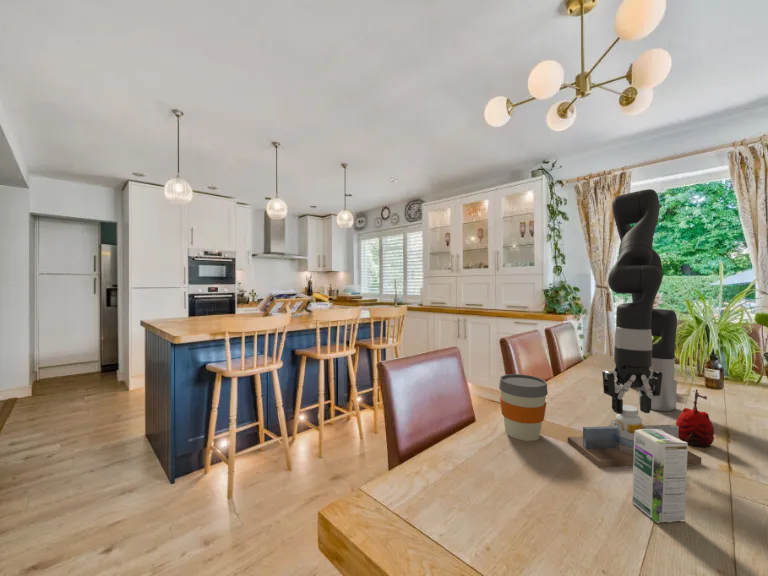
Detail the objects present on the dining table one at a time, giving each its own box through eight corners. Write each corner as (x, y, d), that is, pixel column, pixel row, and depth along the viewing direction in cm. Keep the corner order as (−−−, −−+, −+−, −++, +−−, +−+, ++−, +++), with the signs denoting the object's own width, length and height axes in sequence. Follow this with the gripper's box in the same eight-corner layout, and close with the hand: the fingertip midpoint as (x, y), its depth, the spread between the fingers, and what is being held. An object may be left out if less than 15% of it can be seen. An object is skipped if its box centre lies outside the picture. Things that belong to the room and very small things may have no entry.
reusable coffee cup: (546, 428, 98) (547, 377, 98) (547, 447, 87) (548, 389, 87) (501, 420, 104) (501, 371, 103) (496, 438, 92) (496, 383, 92)
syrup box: (630, 502, 66) (632, 428, 65) (658, 501, 66) (660, 427, 66) (656, 524, 60) (658, 443, 60) (687, 522, 60) (689, 441, 60)
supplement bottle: (614, 446, 85) (611, 408, 85) (620, 438, 89) (618, 401, 88) (640, 453, 81) (637, 413, 81) (646, 444, 84) (643, 406, 84)
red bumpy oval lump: (713, 443, 90) (715, 387, 90) (714, 452, 85) (715, 393, 85) (675, 434, 95) (677, 381, 95) (674, 442, 90) (675, 386, 90)
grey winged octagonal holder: (660, 437, 90) (661, 418, 90) (692, 454, 81) (692, 433, 81) (573, 439, 88) (573, 420, 88) (596, 457, 80) (596, 436, 80)
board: (656, 439, 92) (657, 434, 92) (701, 464, 80) (701, 457, 80) (567, 442, 90) (567, 436, 90) (599, 467, 78) (599, 461, 78)
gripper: (647, 342, 88) (646, 406, 89) (594, 343, 87) (593, 407, 88) (674, 348, 81) (672, 418, 81) (616, 349, 80) (614, 419, 80)
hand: (631, 412), depth 85 cm, fingers open, 6 cm apart
